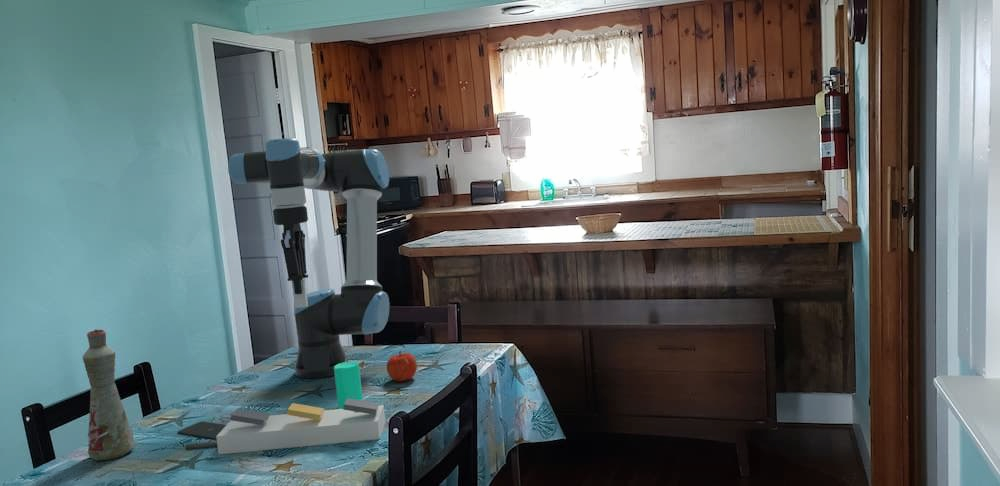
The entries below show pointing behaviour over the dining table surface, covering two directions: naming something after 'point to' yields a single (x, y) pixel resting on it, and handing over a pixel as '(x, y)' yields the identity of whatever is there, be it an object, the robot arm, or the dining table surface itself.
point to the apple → (401, 367)
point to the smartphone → (203, 430)
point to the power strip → (298, 431)
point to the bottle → (105, 403)
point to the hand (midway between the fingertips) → (301, 306)
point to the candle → (347, 382)
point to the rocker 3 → (361, 406)
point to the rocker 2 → (305, 411)
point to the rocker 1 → (249, 416)
